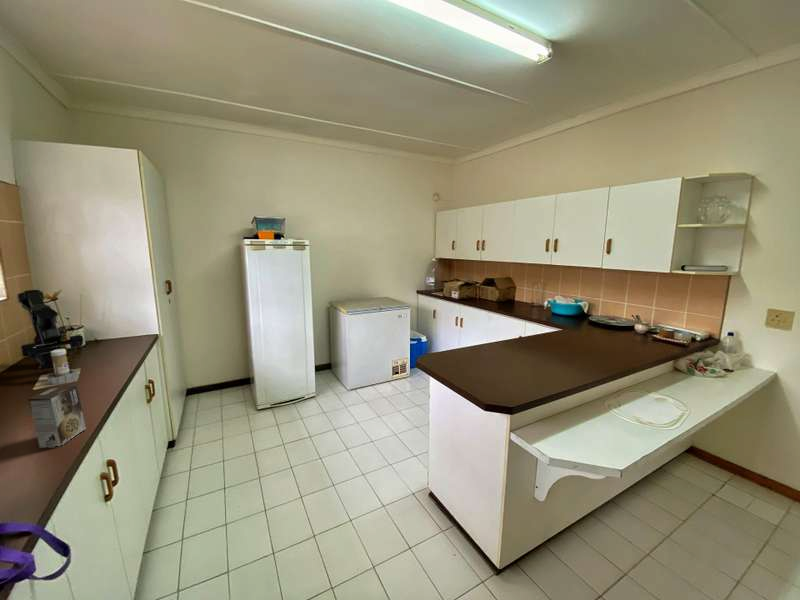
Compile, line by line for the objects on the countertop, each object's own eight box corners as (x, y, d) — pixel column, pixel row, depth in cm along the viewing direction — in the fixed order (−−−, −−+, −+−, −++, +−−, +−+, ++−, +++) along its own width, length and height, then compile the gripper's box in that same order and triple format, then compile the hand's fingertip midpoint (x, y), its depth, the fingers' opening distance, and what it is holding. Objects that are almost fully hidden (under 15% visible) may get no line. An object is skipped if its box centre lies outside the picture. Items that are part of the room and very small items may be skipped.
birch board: (41, 377, 147) (40, 375, 147) (81, 370, 155) (80, 368, 155) (33, 392, 133) (32, 389, 133) (77, 383, 141) (77, 380, 141)
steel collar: (50, 379, 143) (49, 372, 142) (79, 374, 148) (77, 367, 148) (47, 386, 136) (45, 379, 135) (76, 380, 142) (75, 374, 141)
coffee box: (66, 430, 107) (56, 384, 104) (87, 429, 107) (78, 384, 104) (38, 448, 98) (26, 398, 95) (61, 447, 98) (50, 397, 95)
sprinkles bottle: (66, 381, 141) (60, 351, 138) (53, 382, 140) (47, 352, 137) (73, 377, 145) (68, 348, 143) (61, 378, 144) (55, 348, 142)
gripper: (16, 326, 134) (26, 357, 130) (78, 317, 149) (89, 345, 145) (17, 341, 140) (27, 371, 136) (77, 331, 155) (87, 358, 151)
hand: (59, 361), depth 141 cm, fingers open, 9 cm apart
